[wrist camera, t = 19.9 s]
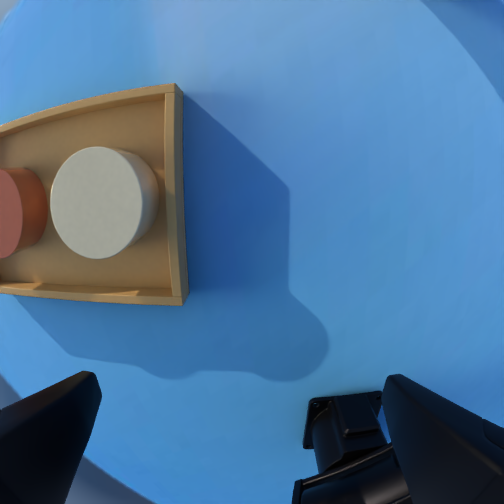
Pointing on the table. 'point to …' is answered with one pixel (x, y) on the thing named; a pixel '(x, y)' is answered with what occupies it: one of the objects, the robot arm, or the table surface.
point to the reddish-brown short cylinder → (21, 210)
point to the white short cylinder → (103, 201)
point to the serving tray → (118, 137)
